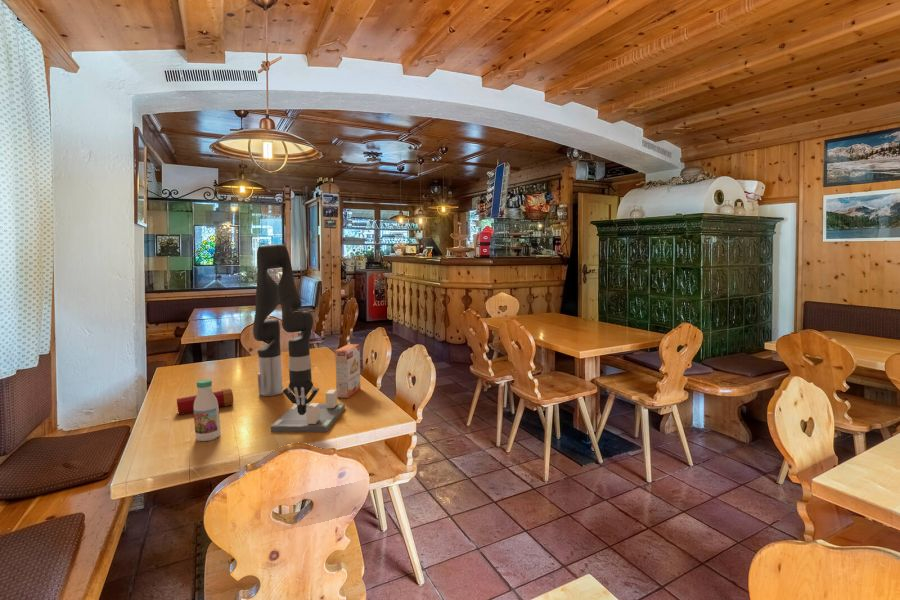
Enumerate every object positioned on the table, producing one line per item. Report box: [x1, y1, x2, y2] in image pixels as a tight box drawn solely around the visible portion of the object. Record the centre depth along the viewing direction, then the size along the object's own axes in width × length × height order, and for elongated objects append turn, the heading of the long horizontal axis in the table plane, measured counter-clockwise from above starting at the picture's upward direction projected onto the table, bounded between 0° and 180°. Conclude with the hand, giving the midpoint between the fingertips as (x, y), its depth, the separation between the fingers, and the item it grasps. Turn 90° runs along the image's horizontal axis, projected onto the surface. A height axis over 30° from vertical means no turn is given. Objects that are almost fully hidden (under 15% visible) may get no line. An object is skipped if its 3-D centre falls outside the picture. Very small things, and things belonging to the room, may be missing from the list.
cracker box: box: [334, 343, 361, 399], centre depth 209 cm, size 14×6×21 cm, turn 168°
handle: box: [325, 388, 338, 408], centre depth 187 cm, size 3×5×6 cm, turn 177°
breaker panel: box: [270, 402, 346, 433], centre depth 180 cm, size 20×24×2 cm
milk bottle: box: [193, 379, 221, 442], centre depth 163 cm, size 8×8×20 cm
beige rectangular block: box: [306, 402, 320, 424], centre depth 171 cm, size 3×5×6 cm, turn 177°
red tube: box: [176, 387, 234, 415], centre depth 192 cm, size 7×20×7 cm, turn 123°
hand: (302, 414), depth 171 cm, fingers closed
